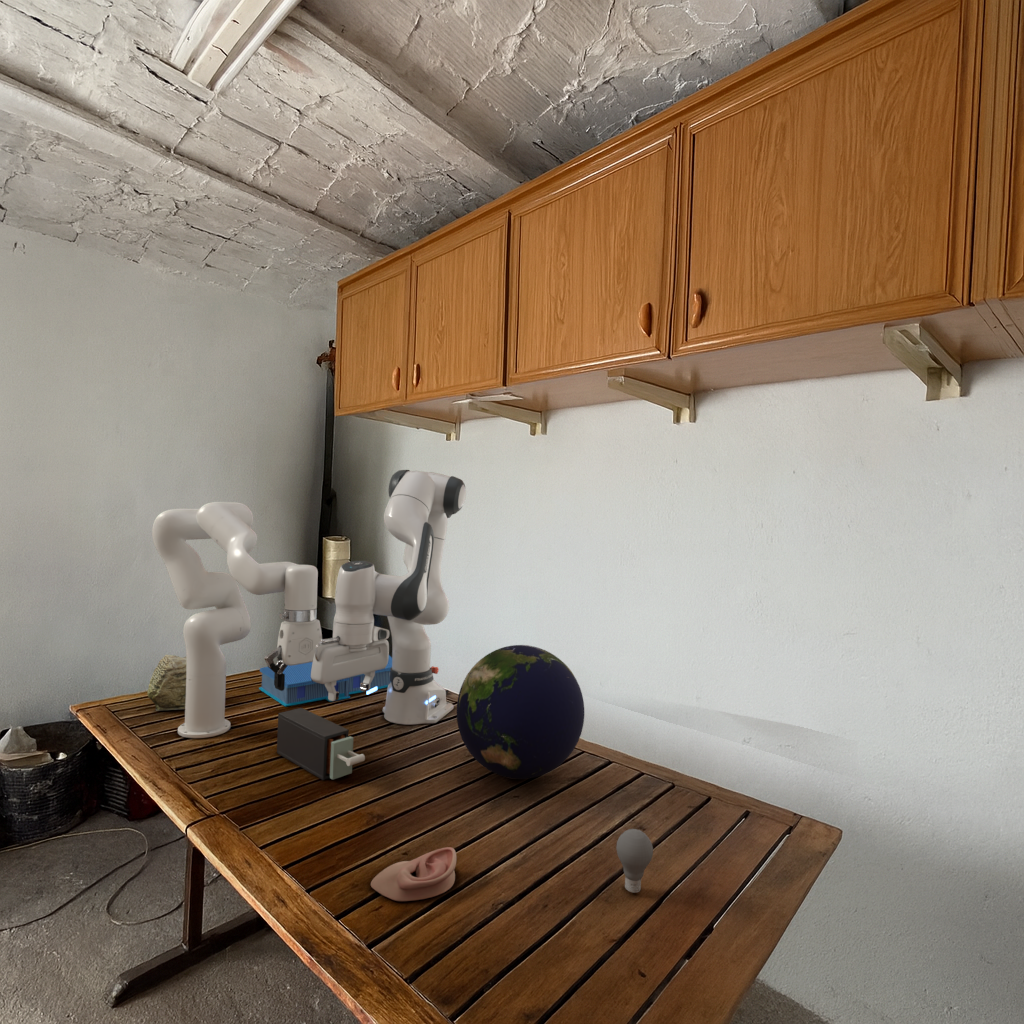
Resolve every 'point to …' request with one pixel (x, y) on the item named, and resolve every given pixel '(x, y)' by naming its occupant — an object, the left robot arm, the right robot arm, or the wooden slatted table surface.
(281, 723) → the cabinet
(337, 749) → the drawer
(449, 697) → the wooden slatted table surface
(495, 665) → the globe
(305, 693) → the model building
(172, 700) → the fossil
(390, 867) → the anatomical model
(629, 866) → the light bulb
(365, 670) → the right robot arm
